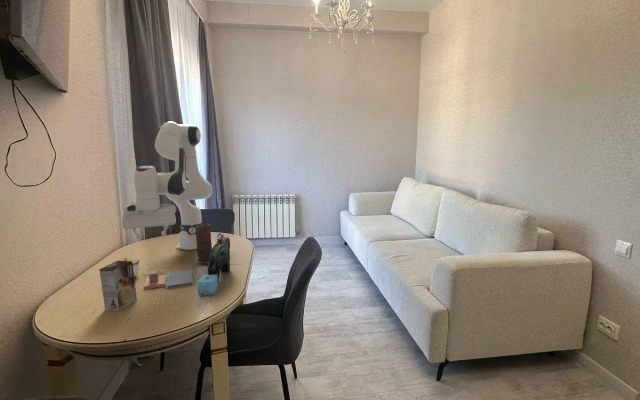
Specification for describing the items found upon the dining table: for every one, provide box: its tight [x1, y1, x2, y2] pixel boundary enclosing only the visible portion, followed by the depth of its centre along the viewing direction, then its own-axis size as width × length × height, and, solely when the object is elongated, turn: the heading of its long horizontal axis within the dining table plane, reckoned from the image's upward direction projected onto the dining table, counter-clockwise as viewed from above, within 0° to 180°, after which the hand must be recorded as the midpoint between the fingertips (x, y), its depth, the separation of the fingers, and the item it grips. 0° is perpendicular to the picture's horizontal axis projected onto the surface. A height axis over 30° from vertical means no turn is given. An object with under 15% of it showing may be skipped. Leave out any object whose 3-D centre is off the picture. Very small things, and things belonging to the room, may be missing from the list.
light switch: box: [143, 268, 167, 290], centre depth 144 cm, size 10×8×5 cm
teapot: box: [197, 274, 219, 297], centre depth 133 cm, size 12×6×8 cm, turn 4°
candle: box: [195, 223, 213, 264], centre depth 167 cm, size 8×7×20 cm
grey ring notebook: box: [165, 268, 194, 290], centre depth 147 cm, size 16×11×1 cm
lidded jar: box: [112, 257, 140, 278], centre depth 150 cm, size 11×11×9 cm
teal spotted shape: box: [207, 233, 231, 285], centre depth 148 cm, size 20×6×20 cm, turn 177°
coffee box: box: [98, 260, 138, 312], centre depth 123 cm, size 9×6×16 cm
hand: (151, 237), depth 140 cm, fingers open, 8 cm apart
